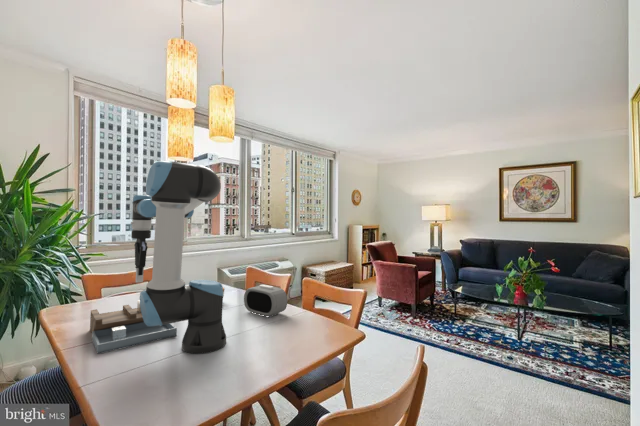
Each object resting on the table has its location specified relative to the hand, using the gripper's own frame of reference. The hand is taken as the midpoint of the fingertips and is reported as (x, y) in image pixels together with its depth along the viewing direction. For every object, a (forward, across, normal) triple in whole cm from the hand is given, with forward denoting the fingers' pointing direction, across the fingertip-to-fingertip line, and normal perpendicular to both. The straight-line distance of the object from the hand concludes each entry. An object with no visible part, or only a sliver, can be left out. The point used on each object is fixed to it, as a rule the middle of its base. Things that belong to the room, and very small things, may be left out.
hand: (139, 281), depth 136 cm
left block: (+14, +20, -11) cm, 27 cm away
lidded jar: (+17, -5, +37) cm, 41 cm away
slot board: (+17, +11, -6) cm, 21 cm away
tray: (+16, +23, -6) cm, 28 cm away
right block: (+11, +9, 0) cm, 14 cm away
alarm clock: (+17, +27, +49) cm, 59 cm away
